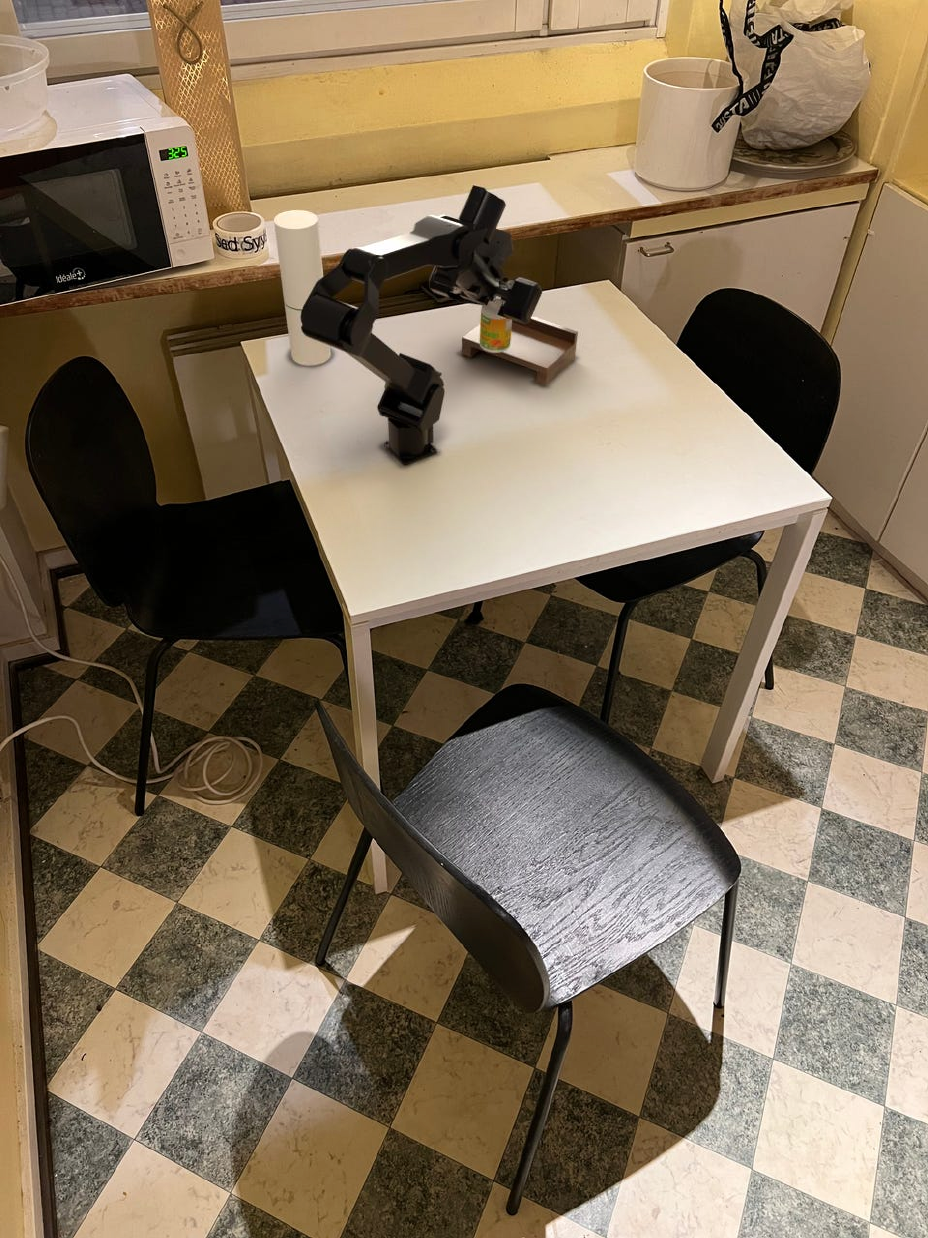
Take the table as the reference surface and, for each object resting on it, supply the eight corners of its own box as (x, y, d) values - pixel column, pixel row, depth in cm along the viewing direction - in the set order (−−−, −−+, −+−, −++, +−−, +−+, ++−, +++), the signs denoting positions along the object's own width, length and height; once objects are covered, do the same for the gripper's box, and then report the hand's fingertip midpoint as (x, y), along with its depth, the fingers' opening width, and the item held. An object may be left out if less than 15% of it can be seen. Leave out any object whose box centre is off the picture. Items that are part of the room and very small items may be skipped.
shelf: (545, 385, 163) (548, 358, 159) (461, 354, 169) (462, 327, 165) (574, 358, 169) (578, 331, 165) (492, 329, 176) (494, 302, 171)
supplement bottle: (473, 348, 158) (476, 295, 151) (488, 334, 161) (490, 282, 154) (501, 356, 156) (505, 303, 149) (515, 342, 160) (519, 290, 153)
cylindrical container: (334, 346, 170) (321, 211, 152) (326, 366, 165) (312, 230, 147) (296, 343, 170) (279, 208, 152) (287, 363, 166) (269, 227, 147)
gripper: (542, 235, 136) (569, 278, 151) (439, 203, 143) (474, 247, 157) (511, 305, 137) (541, 341, 152) (410, 270, 144) (448, 308, 159)
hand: (501, 307), depth 155 cm, fingers closed on supplement bottle, 5 cm apart
